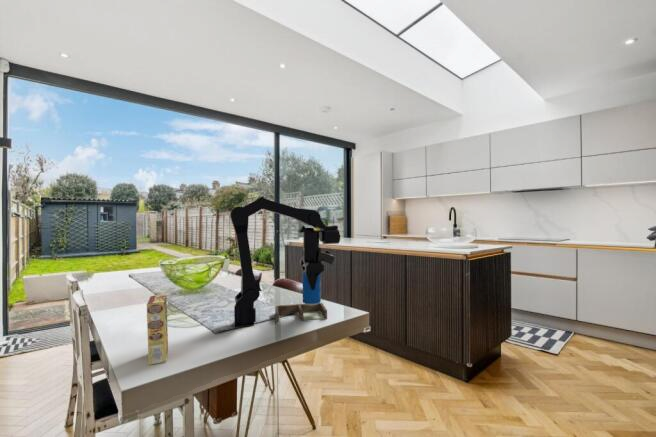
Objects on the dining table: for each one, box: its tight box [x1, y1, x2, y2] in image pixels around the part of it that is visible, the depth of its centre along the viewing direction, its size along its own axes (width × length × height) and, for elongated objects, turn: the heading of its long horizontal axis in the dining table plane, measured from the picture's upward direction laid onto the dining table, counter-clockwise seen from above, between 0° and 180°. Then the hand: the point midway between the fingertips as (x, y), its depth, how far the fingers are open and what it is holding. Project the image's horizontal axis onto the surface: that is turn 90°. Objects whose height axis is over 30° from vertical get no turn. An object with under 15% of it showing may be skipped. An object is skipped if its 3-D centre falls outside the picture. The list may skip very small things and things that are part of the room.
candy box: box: [146, 294, 169, 366], centre depth 84 cm, size 9×4×15 cm, turn 23°
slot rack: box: [274, 302, 328, 323], centre depth 117 cm, size 18×10×3 cm, turn 101°
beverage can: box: [302, 270, 322, 305], centre depth 118 cm, size 6×6×12 cm
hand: (311, 287), depth 118 cm, fingers closed on beverage can, 6 cm apart
